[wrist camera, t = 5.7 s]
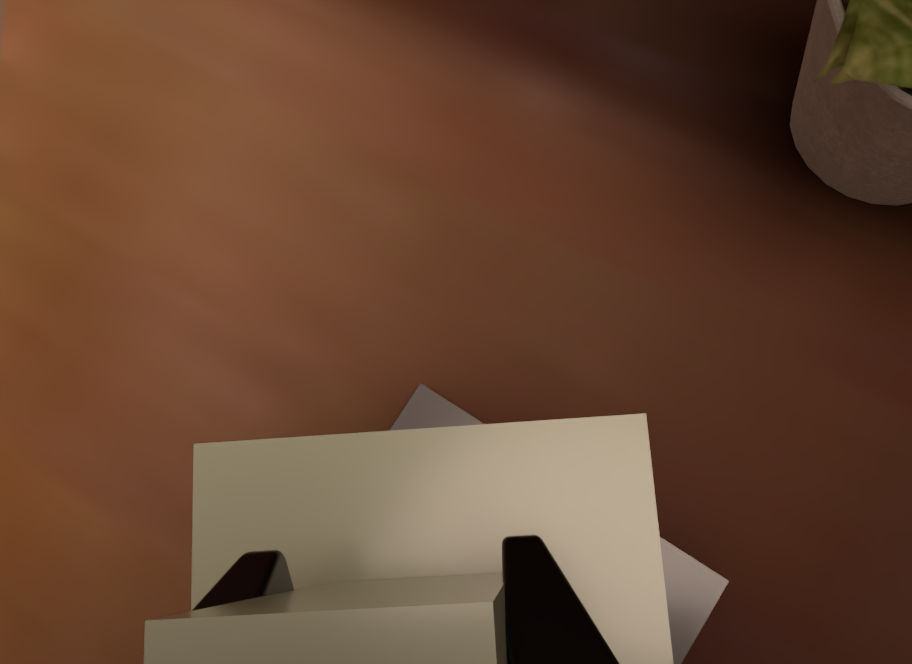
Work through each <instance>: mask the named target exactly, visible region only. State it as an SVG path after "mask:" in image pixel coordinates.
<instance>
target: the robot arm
mask: <svg viewBox="0 0 912 664" xmlns="http://www.w3.org/2000/svg"><path fill="white" fill-rule="evenodd" d="M502 582H503V583H504V587H505V625H506V644H507V653H508V663H509V664H619V662H618V661H617V659H616V657H615V656H614V654H613V652H612V651H611V649H610V648H609V646H608V644H607V643H606V641H605V640H604V638H603V636H602V635H601V633H600V632H599V630H598V628H597V627H596V625H595V624H594V622H593V620H592V619H591V617H590V615H589V614H588V612H587V611H586V609H585V607H584V606H583V604H582V603H581V601H580V599H579V598H578V596H577V595H576V593H575V591H574V590H573V588H572V587H571V585H570V583H569V582H568V580H567V578H566V577H565V575H564V574H563V572H562V570H561V569H560V567H559V566H558V564H557V562H556V561H555V559H554V558H553V556H552V554H551V553H550V551H549V550H548V548H547V546H546V545H545V543H544V542H543V540H542V539H541V538H540V537H539V536H537V535H522V536H508V537H505V538H504V539H503V541H502ZM292 590H294V587H293V583H292V580H291V576H290V572H289V569H288V565H287V562H286V559H285V557H284V555H283V553H282V552H280V551H278V550H267V551H250V552H247V553H245V554H243V555H242V556H241V557H240V558H239V559H238V560H237V561H236V562H235V563H234V564H233V565H232V567H231V568H230V569H229V570H228V571H227V572H226V573H225V574H224V575H223V576H222V578H221V579H220V580H219V581H218V582H217V583H216V584H215V585H214V586H213V588H212V589H211V590H210V591H209V592H208V593H207V594H206V595H205V596H204V597H203V599H202V600H201V601H200V602H199V603H198V604H197V605H196V606H195V607H194V609H193V610H192V611H194V610H198V609H203V608H208V607H213V606H218V605H223V604H228V603H233V602H237V601H242V600H247V599H252V598H257V597H262V596H268V595H272V594H277V593H282V592H287V591H292Z"/></svg>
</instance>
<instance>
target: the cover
mask: <svg viewBox="0 0 912 664" xmlns="http://www.w3.org/2000/svg"><path fill="white" fill-rule="evenodd" d="M522 535H537V536H539V537H540V538H541V539H542V540H543V542H544V543H545V545H546V546H547V548H548V550H549V551H550V553H551V554H552V556H553V558H554V559H555V561H556V562H557V564H558V566H559V567H560V569H561V570H562V572H563V574H564V575H565V577H566V578H567V580H568V582H569V583H570V585H571V587H572V588H573V590H574V591H575V593H576V595H577V596H578V598H579V599H580V601H581V603H582V604H583V606H584V607H585V609H586V611H587V612H588V614H589V615H590V617H591V619H592V620H593V622H594V624H595V625H596V627H597V628H598V630H599V632H600V633H601V635H602V636H603V638H604V640H605V641H606V643H607V644H608V646H609V648H610V649H611V651H612V652H613V654H614V656H615V657H616V659H617V661H618V662H619V664H674V663H673V654H672V645H671V636H670V627H669V618H668V609H667V599H666V590H665V581H664V572H663V563H662V554H661V545H660V536H659V526H658V517H657V508H656V499H655V490H654V481H653V472H652V463H651V453H650V444H649V435H648V426H647V417H646V413H644V414H630V415H615V416H600V417H585V418H570V419H555V420H540V421H526V422H511V423H496V424H481V425H466V426H451V427H437V428H422V429H407V430H392V431H377V432H362V433H348V434H333V435H318V436H303V437H288V438H273V439H259V440H244V441H229V442H214V443H199V444H194V457H193V521H192V584H191V611H189V612H184V613H179V614H174V615H169V616H164V617H159V618H154V619H150V620H145V637H144V664H509V663H508V653H507V644H506V625H505V587H504V583H503V582H502V541H503V539H504V538H505V537H508V536H522ZM267 550H278V551H280V552H282V553H283V555H284V557H285V559H286V562H287V565H288V569H289V572H290V576H291V580H292V583H293V587H294V590H292V591H287V592H282V593H277V594H272V595H268V596H262V597H257V598H252V599H247V600H242V601H237V602H233V603H228V604H223V605H218V606H213V607H208V608H203V609H198V610H194V611H192V610H193V609H194V607H195V606H196V605H197V604H198V603H199V602H200V601H201V600H202V599H203V597H204V596H205V595H206V594H207V593H208V592H209V591H210V590H211V589H212V588H213V586H214V585H215V584H216V583H217V582H218V581H219V580H220V579H221V578H222V576H223V575H224V574H225V573H226V572H227V571H228V570H229V569H230V568H231V567H232V565H233V564H234V563H235V562H236V561H237V560H238V559H239V558H240V557H241V556H242V555H243V554H245V553H247V552H250V551H267Z"/></svg>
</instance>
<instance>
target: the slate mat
mask: <svg viewBox="0 0 912 664" xmlns="http://www.w3.org/2000/svg"><path fill="white" fill-rule="evenodd" d="M481 424H483V423H482V422H480V421H479V420H477V419H476V418H474V417H473V416H471V415H469V414H468V413H466V412H465V411H463V410H462V409H460V408H459V407H457V406H455V405H454V404H452V403H451V402H449V401H448V400H446V399H445V398H443V397H441V396H440V395H438V394H437V393H435V392H434V391H432V390H430V389H429V388H427V387H426V386H424V385H423V384H420V385H419V387H418V388H417V390H416V391H415V393H414V394H413V396H412V397H411V399H410V400H409V402H408V403H407V405H406V406H405V408H404V409H403V411H402V412H401V414H400V415H399V417H398V418H397V420H396V421H395V423H394V424H393V426H392V427H391V429H390V430H389V431H392V430H407V429H422V428H437V427H451V426H466V425H481ZM660 545H661V554H662V563H663V572H664V581H665V590H666V599H667V609H668V618H669V627H670V636H671V645H672V654H673V663H674V664H681V663H682V661H683V660H684V658H685V656H686V655H687V653H688V651H689V649H690V648H691V646H692V644H693V642H694V641H695V639H696V637H697V635H698V634H699V632H700V630H701V629H702V627H703V625H704V623H705V622H706V620H707V618H708V616H709V615H710V613H711V611H712V609H713V608H714V606H715V604H716V603H717V601H718V599H719V597H720V596H721V594H722V592H723V590H724V589H725V587H726V585H727V584H728V582H729V581H728V580H727V579H725V578H723V577H722V576H720V575H719V574H717V573H716V572H714V571H713V570H711V569H709V568H708V567H706V566H705V565H703V564H702V563H700V562H699V561H697V560H695V559H694V558H692V557H691V556H689V555H688V554H686V553H684V552H683V551H681V550H680V549H678V548H677V547H675V546H674V545H672V544H670V543H669V542H667V541H666V540H664V539H663V538H661V537H660Z"/></svg>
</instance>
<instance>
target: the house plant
mask: <svg viewBox="0 0 912 664" xmlns="http://www.w3.org/2000/svg"><path fill="white" fill-rule="evenodd" d="M790 129H791V132H792V136H793V139H794V143H795V147H796V148H797V150H798V152H799V153H800V155H801V157H802V158H803V160H804V161H805V163H806V165H807V166H808V168H809V169H811V170H812V171H813V172H814V173H815V174H816V175H817V176H818V177H819V178H820V179H821V180H822V181H823V182H824V183H825V184H827V185H828V186H830V187H832V188H833V189H835V190H837V191H839V192H840V193H842V194H844V195H845V196H847V197H850V198H854V199H857V200H860V201H864V202H867V203H870V204H880V205H896V206H898V205H903V204H909V203H912V0H817V2H816V6H815V10H814V15H813V19H812V23H811V27H810V32H809V36H808V40H807V44H806V48H805V53H804V57H803V61H802V65H801V70H800V74H799V78H798V82H797V87H796V91H795V95H794V99H793V104H792V111H791V118H790Z"/></svg>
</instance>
